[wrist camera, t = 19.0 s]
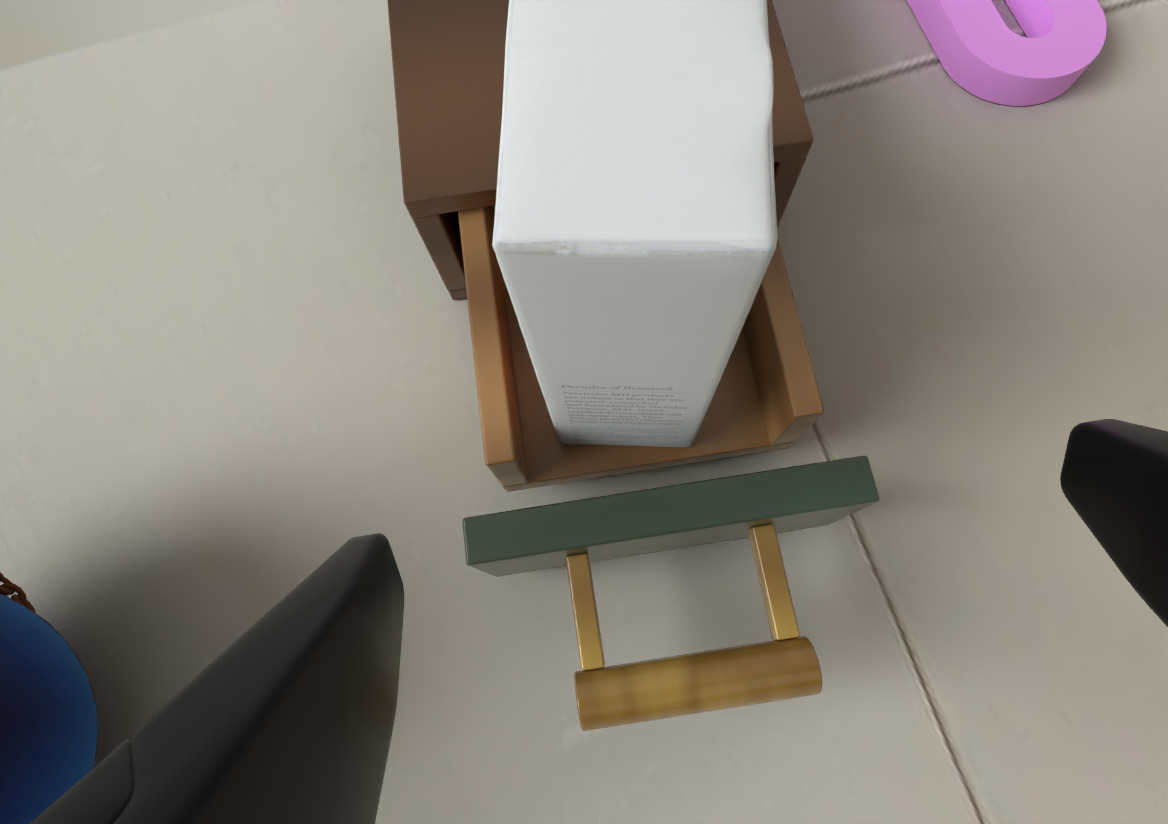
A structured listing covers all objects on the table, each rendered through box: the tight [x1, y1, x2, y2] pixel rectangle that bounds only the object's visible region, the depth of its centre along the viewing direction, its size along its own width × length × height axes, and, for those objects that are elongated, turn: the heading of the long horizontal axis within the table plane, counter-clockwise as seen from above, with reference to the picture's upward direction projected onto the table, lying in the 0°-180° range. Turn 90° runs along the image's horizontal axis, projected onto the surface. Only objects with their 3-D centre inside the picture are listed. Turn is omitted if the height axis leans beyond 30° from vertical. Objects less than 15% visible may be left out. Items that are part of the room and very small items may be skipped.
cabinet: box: [388, 0, 813, 300], centre depth 24 cm, size 14×12×6 cm
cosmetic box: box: [492, 0, 777, 447], centre depth 16 cm, size 6×4×12 cm
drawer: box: [458, 205, 879, 731], centre depth 20 cm, size 17×10×4 cm, turn 9°
